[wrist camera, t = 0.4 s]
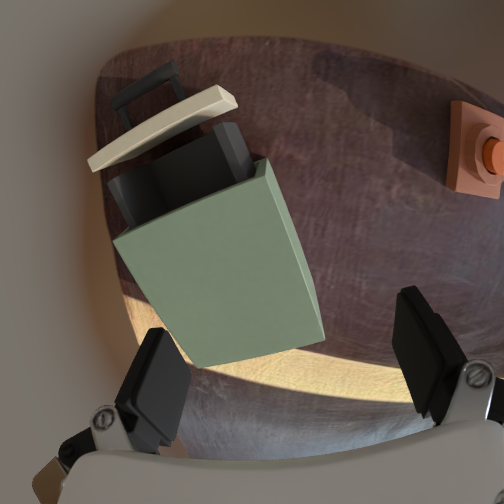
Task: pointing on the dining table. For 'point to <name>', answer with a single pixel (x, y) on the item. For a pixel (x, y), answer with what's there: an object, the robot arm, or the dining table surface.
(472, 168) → the control block
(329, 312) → the dining table surface
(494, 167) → the button
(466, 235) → the dining table surface
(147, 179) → the fryer drawer
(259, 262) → the fryer
